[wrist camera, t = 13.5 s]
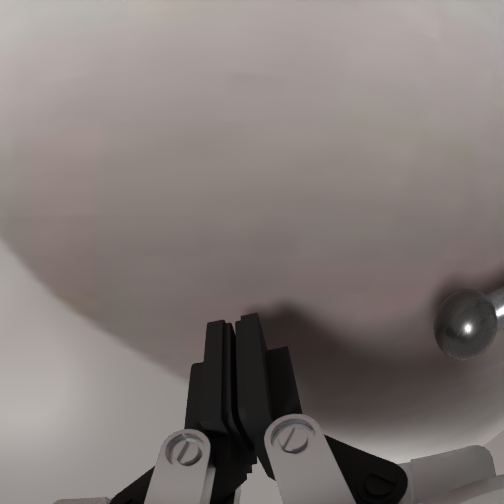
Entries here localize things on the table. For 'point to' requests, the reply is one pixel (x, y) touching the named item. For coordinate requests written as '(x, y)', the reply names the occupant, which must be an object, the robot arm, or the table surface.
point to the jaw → (468, 322)
